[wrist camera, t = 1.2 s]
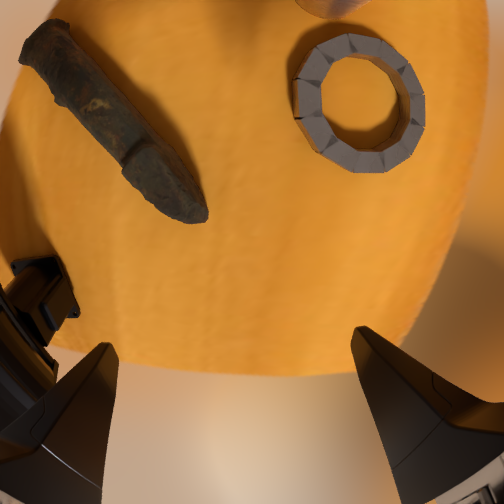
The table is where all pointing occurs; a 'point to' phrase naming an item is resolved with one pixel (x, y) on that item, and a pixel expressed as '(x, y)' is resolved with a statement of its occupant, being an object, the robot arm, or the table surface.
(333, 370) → the table surface
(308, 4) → the silver metal cylinder
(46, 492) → the robot arm
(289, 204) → the table surface
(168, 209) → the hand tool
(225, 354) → the table surface
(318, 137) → the ring
